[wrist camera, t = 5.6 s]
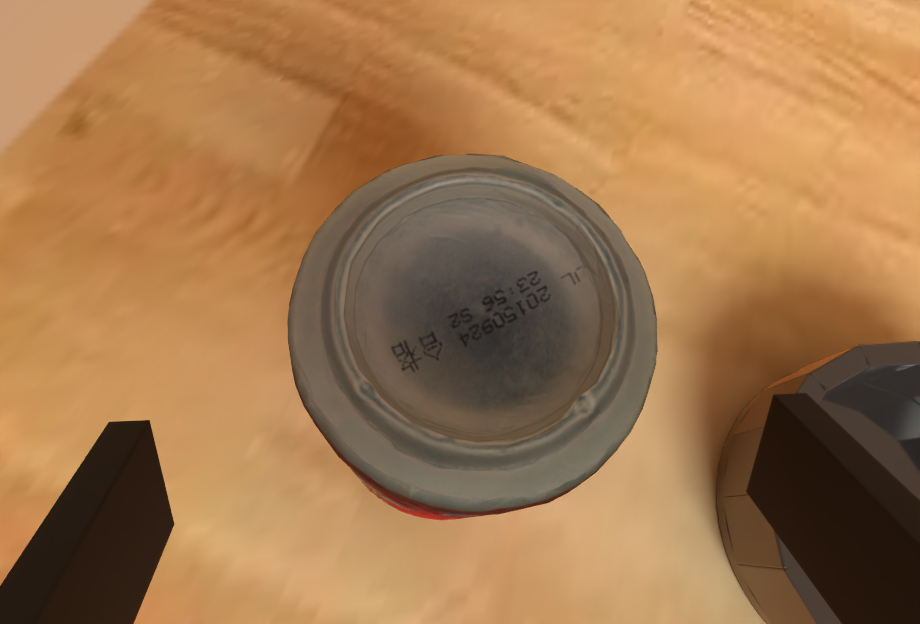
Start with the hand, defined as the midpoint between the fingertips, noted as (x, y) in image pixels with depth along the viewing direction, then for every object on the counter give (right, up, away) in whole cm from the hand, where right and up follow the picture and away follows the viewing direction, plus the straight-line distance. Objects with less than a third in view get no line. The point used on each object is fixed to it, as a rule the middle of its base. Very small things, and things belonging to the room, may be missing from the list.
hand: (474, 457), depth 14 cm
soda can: (-1, -1, +9) cm, 9 cm away
